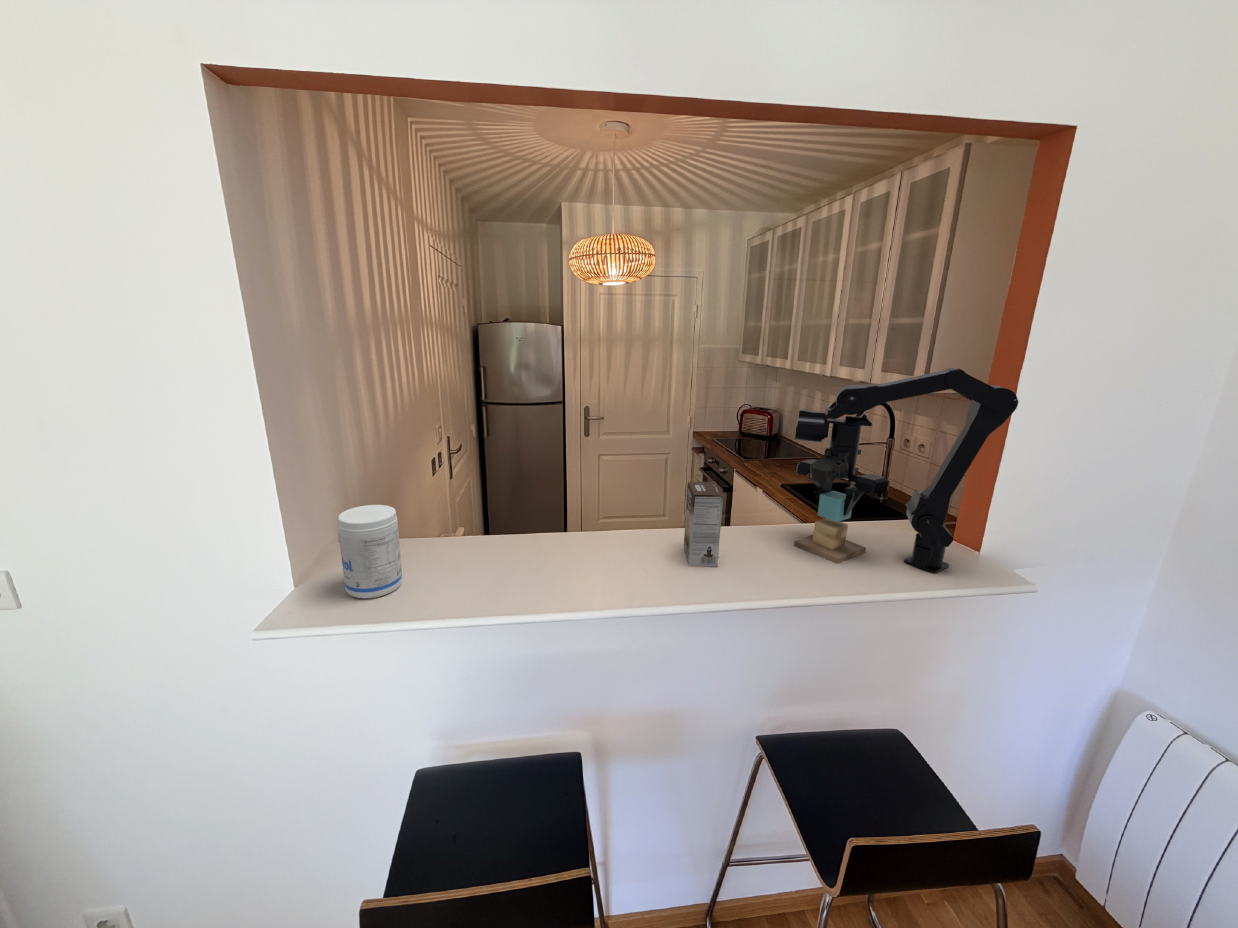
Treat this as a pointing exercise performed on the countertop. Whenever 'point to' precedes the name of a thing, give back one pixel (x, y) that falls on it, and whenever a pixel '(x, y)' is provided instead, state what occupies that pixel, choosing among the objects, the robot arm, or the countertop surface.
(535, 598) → the countertop surface
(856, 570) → the countertop surface
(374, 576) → the supplement tub
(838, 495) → the teal block
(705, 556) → the coffee box
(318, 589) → the countertop surface
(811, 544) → the walnut board
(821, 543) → the oak block
